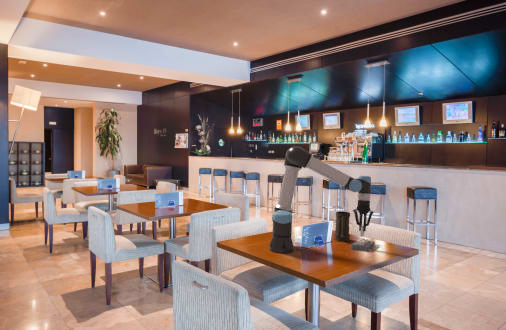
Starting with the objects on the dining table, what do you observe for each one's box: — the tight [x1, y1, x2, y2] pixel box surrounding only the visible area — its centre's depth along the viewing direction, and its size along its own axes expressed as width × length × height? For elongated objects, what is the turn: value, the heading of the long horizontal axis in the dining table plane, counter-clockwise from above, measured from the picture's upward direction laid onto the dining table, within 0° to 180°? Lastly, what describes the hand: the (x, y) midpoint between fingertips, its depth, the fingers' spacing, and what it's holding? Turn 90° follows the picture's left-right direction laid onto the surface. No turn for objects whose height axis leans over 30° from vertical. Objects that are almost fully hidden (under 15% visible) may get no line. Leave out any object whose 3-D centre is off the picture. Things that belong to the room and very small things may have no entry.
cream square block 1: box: [356, 239, 365, 246], centre depth 224 cm, size 4×4×3 cm
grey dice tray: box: [350, 238, 376, 253], centre depth 229 cm, size 10×18×3 cm, turn 148°
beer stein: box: [333, 210, 351, 242], centre depth 247 cm, size 15×11×20 cm
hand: (362, 236), depth 227 cm, fingers closed
